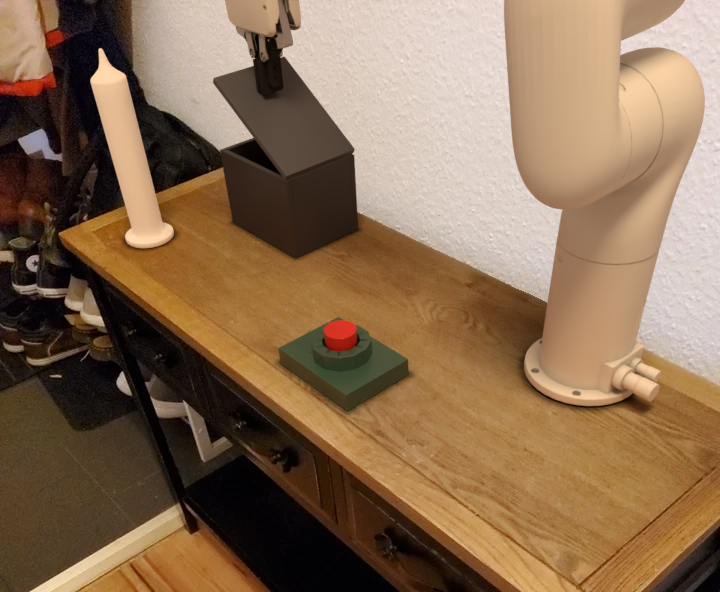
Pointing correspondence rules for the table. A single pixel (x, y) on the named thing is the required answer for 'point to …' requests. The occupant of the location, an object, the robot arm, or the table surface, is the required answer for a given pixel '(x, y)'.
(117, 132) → the candle
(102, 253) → the table surface
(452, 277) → the table surface
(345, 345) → the red button
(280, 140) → the lid
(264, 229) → the open storage bin
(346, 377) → the control block
